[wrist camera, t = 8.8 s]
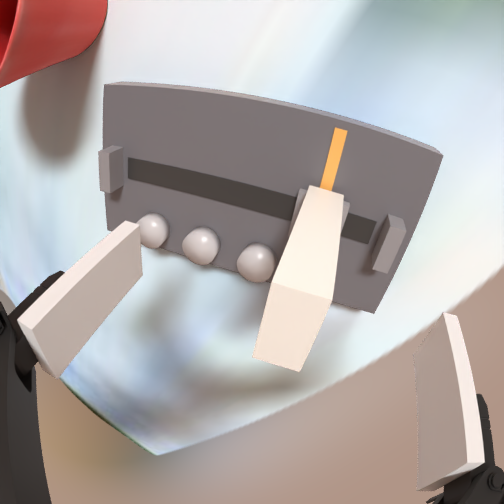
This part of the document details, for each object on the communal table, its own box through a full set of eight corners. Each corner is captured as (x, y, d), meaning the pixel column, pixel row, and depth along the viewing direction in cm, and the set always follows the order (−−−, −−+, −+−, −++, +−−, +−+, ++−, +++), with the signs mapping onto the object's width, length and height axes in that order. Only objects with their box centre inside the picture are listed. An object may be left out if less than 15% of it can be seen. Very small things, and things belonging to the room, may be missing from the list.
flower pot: (106, 83, 20) (3, 110, 12) (31, 67, 21) (-53, 91, 13) (142, -41, 14) (41, -65, 6) (54, -33, 14) (-32, -33, 7)
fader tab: (287, 238, 20) (240, 353, 12) (302, 180, 18) (256, 277, 10) (333, 252, 20) (311, 375, 12) (352, 195, 17) (347, 304, 10)
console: (121, 219, 26) (95, 239, 23) (121, 81, 20) (88, 87, 17) (373, 296, 23) (374, 329, 20) (434, 147, 16) (451, 163, 13)
